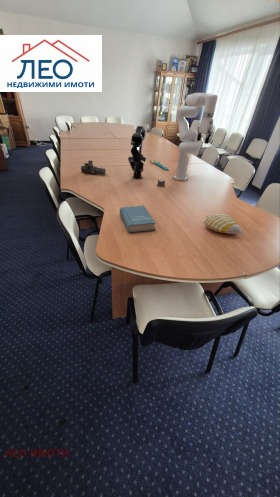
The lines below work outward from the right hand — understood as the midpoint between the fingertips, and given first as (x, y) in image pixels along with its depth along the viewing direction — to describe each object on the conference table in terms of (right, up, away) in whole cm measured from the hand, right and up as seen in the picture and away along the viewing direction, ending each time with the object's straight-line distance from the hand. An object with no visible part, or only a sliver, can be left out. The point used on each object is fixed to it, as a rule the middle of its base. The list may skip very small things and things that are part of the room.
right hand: (202, 142), depth 165 cm
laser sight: (-90, -10, +40) cm, 99 cm away
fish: (+4, -68, -29) cm, 74 cm away
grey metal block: (-29, -26, +25) cm, 46 cm away
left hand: (-51, -16, +18) cm, 56 cm away
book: (-49, -63, -28) cm, 85 cm away
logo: (-25, +11, +75) cm, 79 cm away
